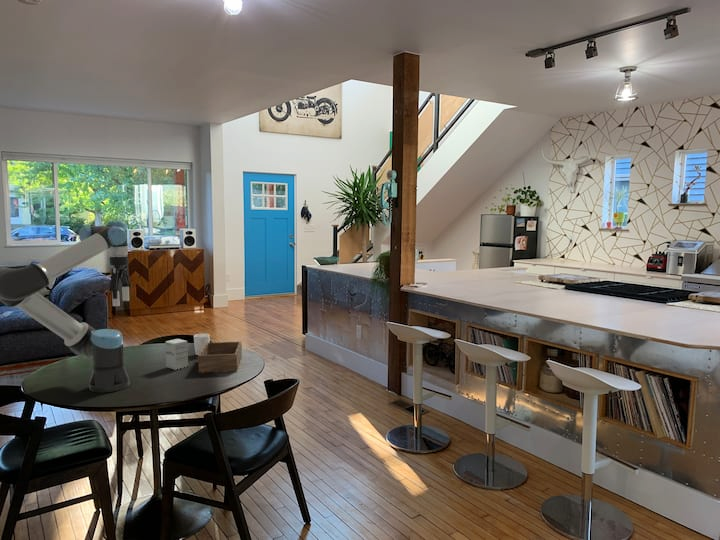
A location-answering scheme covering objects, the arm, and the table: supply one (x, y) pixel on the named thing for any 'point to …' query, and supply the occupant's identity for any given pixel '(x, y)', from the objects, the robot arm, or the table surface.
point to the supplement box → (176, 354)
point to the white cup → (200, 342)
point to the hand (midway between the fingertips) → (121, 303)
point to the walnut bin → (220, 356)
